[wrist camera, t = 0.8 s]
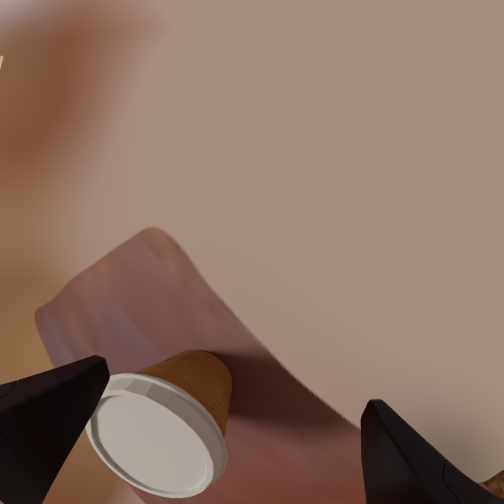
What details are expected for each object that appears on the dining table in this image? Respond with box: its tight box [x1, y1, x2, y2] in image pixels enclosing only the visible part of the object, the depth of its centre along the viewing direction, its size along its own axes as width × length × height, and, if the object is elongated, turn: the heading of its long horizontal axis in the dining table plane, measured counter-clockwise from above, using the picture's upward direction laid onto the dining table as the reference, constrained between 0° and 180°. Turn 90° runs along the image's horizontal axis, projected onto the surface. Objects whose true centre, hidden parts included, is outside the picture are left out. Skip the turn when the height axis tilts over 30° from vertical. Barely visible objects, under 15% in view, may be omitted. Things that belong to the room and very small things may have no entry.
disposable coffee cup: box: [85, 350, 233, 498], centre depth 18 cm, size 10×10×12 cm
